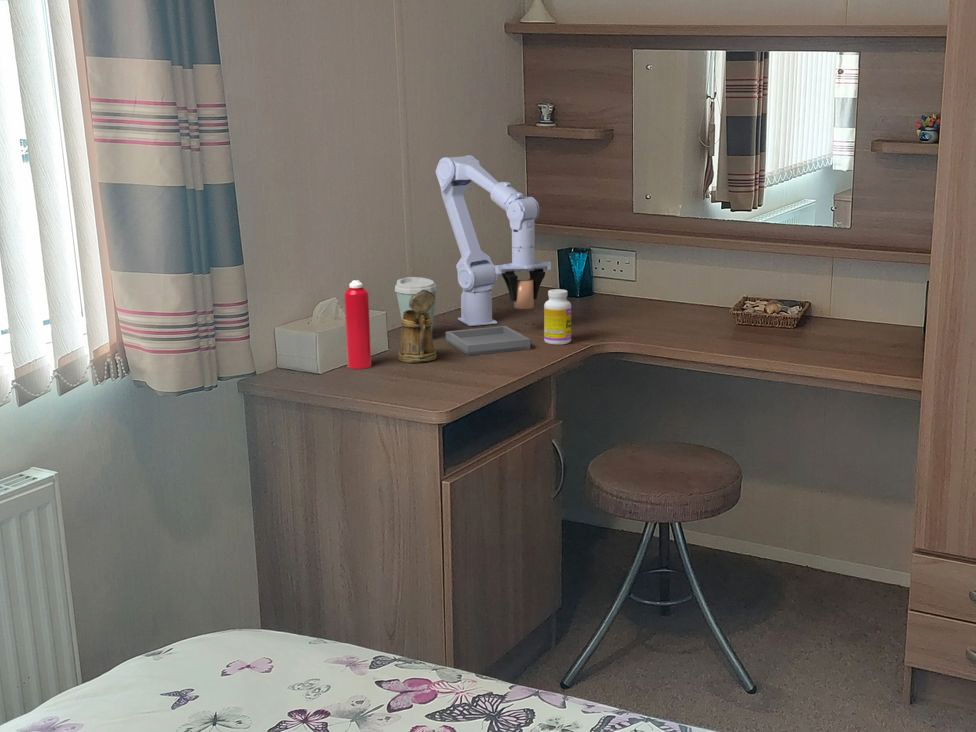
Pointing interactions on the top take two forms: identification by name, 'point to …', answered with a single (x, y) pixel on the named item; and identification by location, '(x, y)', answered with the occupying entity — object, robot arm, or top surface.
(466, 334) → the gray tray
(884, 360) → the top surface
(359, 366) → the bottle
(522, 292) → the terracotta cup
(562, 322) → the supplement bottle
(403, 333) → the wooden mug
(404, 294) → the disposable coffee cup
